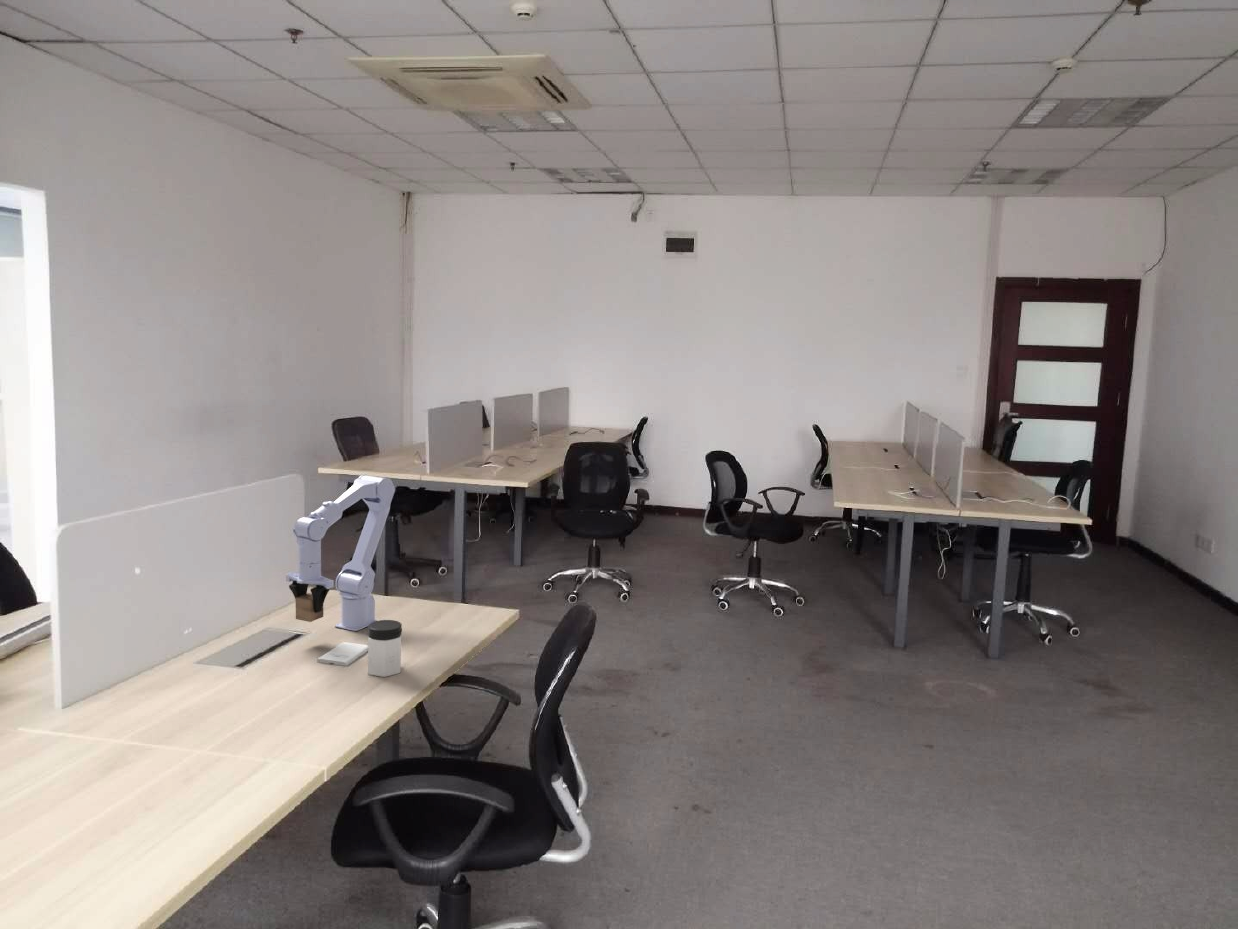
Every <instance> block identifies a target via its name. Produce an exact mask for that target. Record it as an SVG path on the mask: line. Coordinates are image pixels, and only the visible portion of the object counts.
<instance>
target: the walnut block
mask: <svg viewBox="0 0 1238 929" xmlns="http://www.w3.org/2000/svg"><path fill="white" fill-rule="evenodd" d="M323 617H324V606H323V607H322V611H320V612H318V613H315V612H314V601H313V596H312V593H311V592H307V594H304V595H302V596H299V597H296V600H295V620H299V621H302V622H303V621H304V622H308V623H311V622H314V621H316V620H319V619H322V618H323Z"/></svg>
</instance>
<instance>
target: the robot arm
mask: <svg viewBox="0 0 1238 929" xmlns="http://www.w3.org/2000/svg"><path fill="white" fill-rule="evenodd" d="M395 492H396V487H395V485H394V483H393V481H392V479H391V478H389V477H380V476H374V475H369V474H361V475H360V476H358V478H356V479H354V481H353V484H352V485H351V487H349V488H348V489H347V490H346V491H345V492H343V493H342V494H341V495H340V496H339V497H338V498H337V499H336V500H335V501H331V500H329V501H324V502H322V504H321V506H320V507H318V508H317V509H316V510H314V511H312V512H310V513H309V515H308V516H302V517H300V518H299V519H298V520H297V521H296V522H295V523H294V527H293V528H292V533H293V534H294V536H295V538H296V543H297V550H298V551H297V552H298V554H297V555H298V556H297V557H298V560H297V561H298V565H297V566H298V572H297V573H295V572H289V573H287V574H285V575H286V576H285V578H286V579H285V581H286V582H292V583H291V584H289V585H288V588H289V590H290V591H291V593H292V594H293V597H294V599H295V601H296V597H299V596H302V595H304V594H307V593H308V589H309V588H308V587H309V585H310V586H315V587H311V588H310V593H312V596H313V601H314V612H315V613H318V612H320V611H322V607H323V608H324V604H325V600H326V597H327V595H328V593H329V592H330V590H331V589H333V588H335V589H336V590H337V591H338V592H339V596H341V606H340V607H341V616H340V617H341V620H340V621H341V622H339V623H336V624H334V627H335V628H338V629H345V630H348V631H349V630H350V631H353V632H358V631H360V630H363V629H365V628H366V627H367V628H368V626H369V624H370V623H372V622H375V621H378V620H377V619H376V618H375V616H376V610H375V609H376V601H375V598H374V597H375V596H374V595H373V594H372V592H373V590H374V581H375V576H376V573H375V571H374V570H373V568H372V562H373V559H374V556H375V553H376V550H377V547H378V545H379V542H380V539H381V537H382V533H383V530H384V527H385V524H386V521H387V518H388V516H389V514H390V509H391V503H392V500H393V498H394V494H395ZM361 499H362V501H363V502H364V503H365V504H366V505H367V507H368V510H369V511H368V512H367V517H366V519H365V522H364V525H363V528H362V530H361V534H360V536H359V539H358V542H357V544H356V547H355V550H354V553H353V556H352V560H350V561H349V562H347V563H345V564H343V566H342V568H341V571H340V573H338V575H337V576H336V578H335V580H333V579H330V578H327V577H326V576H322V557H321V556H322V555H321V554H322V539H323V538H324V537H325V535H326V532H327V530H328V529H329V528H330V527H331V526H332V525H334V523H337V521H339V520H340V519H342V516H343V512H344V511H345V510H346V509H348V508H350V507H351V506H352V505H354V504H356V503H358V502H359V501H360V500H361ZM334 581H335V582H334ZM334 583H335V584H334ZM334 586H335V587H334Z"/></svg>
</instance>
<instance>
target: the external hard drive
mask: <svg viewBox="0 0 1238 929" xmlns="http://www.w3.org/2000/svg"><path fill="white" fill-rule="evenodd" d="M366 653H368V645H367V644H363V643H362V644H361V643H353V642H347V641H343V642H341V643H339V644H338V645H337V646H335V647H334V648H332V649H330V650H329V651H327V652H326V653H324V654H323V655H321V656H320V657H318V658H316V663H319V662H321V663H322V664H326V663H327V664H328V665H334V666H342V667H347V666H348V665H349V664H351V663H353V662H354V661H356V660H357V659H358V657H359V656H360V657H362V656H364V654H366ZM360 657H359V658H360ZM355 659H356V660H355ZM321 663H320V664H321Z"/></svg>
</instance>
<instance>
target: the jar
mask: <svg viewBox="0 0 1238 929" xmlns="http://www.w3.org/2000/svg"><path fill="white" fill-rule="evenodd" d="M402 624H403V623H401V622H400V621H398V620H393V619H382V620H381V619H380V620H377V621H375V622H372V623H370V624H369V626H367V630H368V631H367V635H368V639H367V641H368V643H367V644H368V651H367V674H368V675H371V676H376V677H381V678H386V677H391V676H394V675H397V674H400V673H401V670H402V632H403V625H402Z"/></svg>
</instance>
